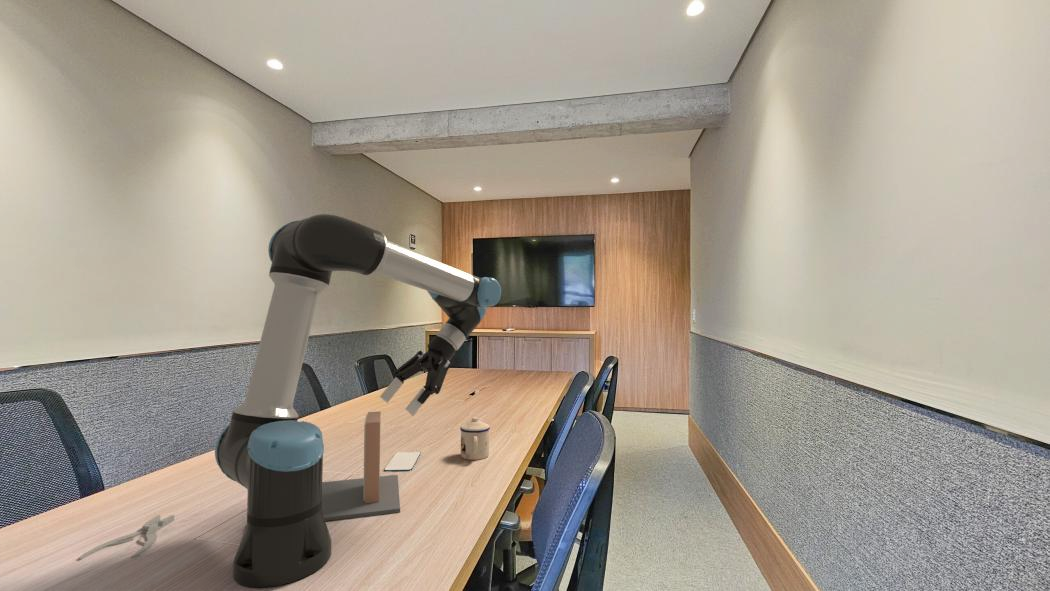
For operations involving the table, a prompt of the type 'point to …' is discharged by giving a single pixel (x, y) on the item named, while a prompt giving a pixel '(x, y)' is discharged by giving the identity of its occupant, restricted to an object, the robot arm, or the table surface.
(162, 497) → the table surface
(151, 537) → the pliers
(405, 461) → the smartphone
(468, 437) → the teacup with lid
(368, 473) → the light wooden block
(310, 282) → the robot arm
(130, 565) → the table surface
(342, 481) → the rubber mat
